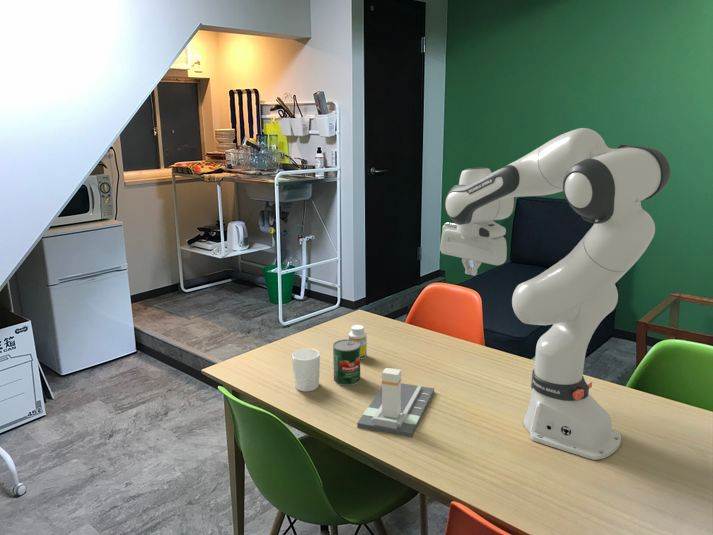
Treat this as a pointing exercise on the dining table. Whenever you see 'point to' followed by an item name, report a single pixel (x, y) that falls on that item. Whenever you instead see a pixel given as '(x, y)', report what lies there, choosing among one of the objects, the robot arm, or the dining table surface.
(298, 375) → the white cup
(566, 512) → the dining table surface
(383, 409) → the fader
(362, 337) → the supplement bottle
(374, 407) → the grey slider track base
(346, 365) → the canned tomato
